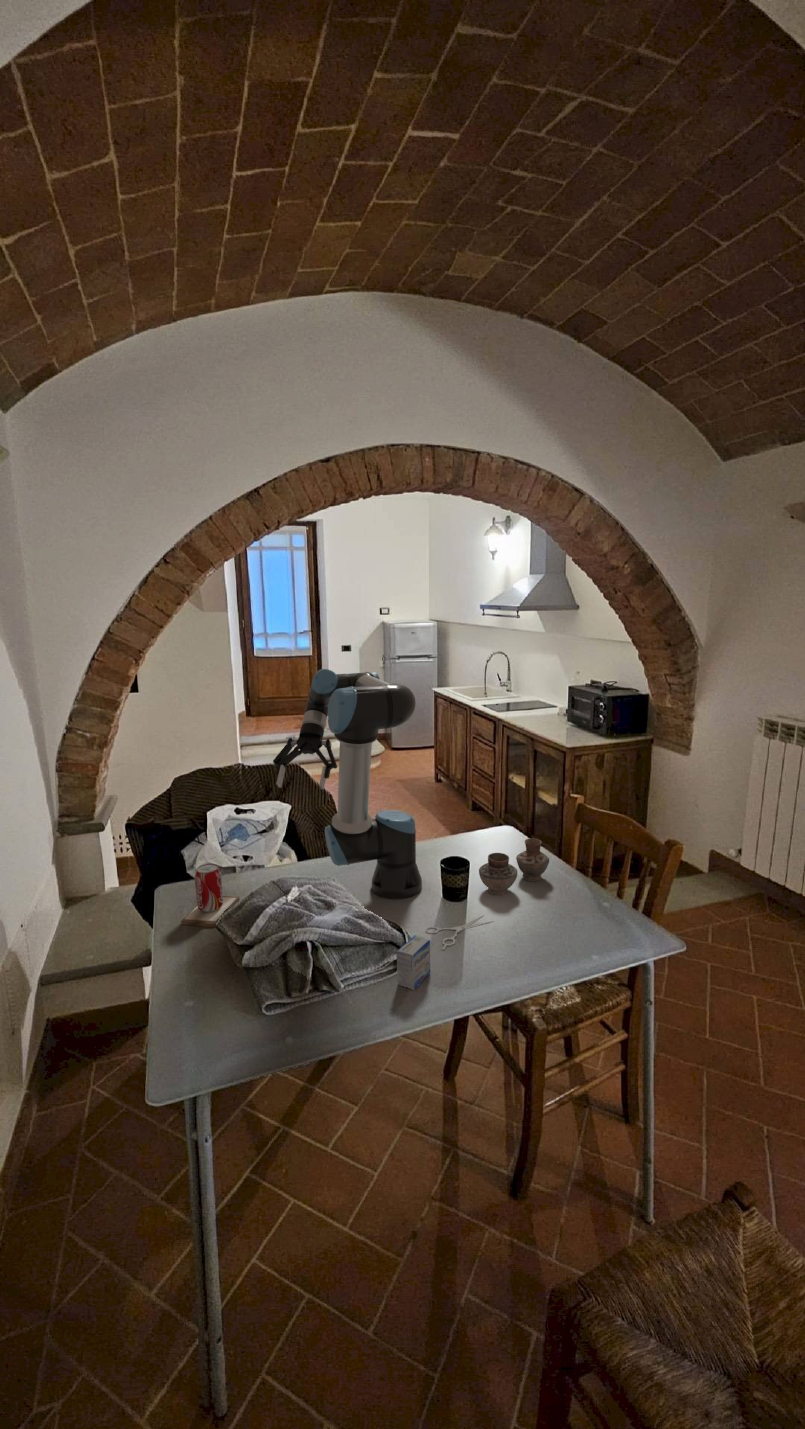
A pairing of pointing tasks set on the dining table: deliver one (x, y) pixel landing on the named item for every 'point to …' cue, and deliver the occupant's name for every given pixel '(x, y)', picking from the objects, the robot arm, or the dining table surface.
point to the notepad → (208, 914)
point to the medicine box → (413, 962)
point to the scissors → (458, 929)
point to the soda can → (208, 888)
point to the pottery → (504, 875)
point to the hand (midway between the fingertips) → (299, 786)
